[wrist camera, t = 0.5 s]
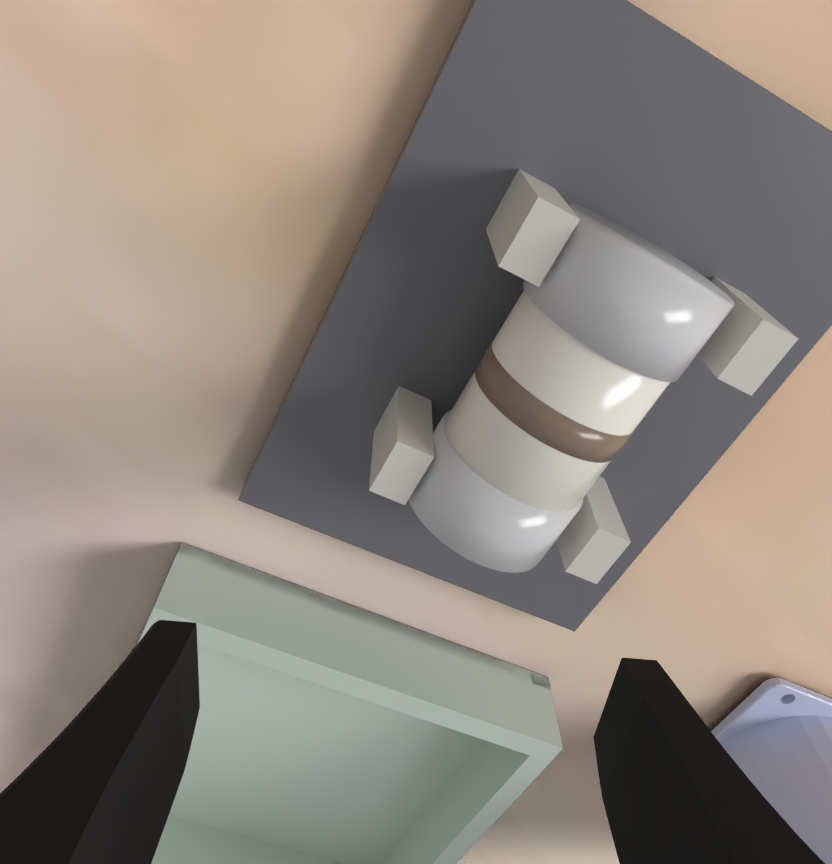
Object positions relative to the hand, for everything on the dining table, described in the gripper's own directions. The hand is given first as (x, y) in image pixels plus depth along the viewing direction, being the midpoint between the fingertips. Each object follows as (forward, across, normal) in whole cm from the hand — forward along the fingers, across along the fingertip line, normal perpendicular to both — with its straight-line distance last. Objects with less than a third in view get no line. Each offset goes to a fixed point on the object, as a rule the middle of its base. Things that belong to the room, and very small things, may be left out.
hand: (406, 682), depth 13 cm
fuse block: (+10, -4, -2) cm, 11 cm away
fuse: (+9, -4, -2) cm, 10 cm away
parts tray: (+10, +3, +15) cm, 18 cm away
